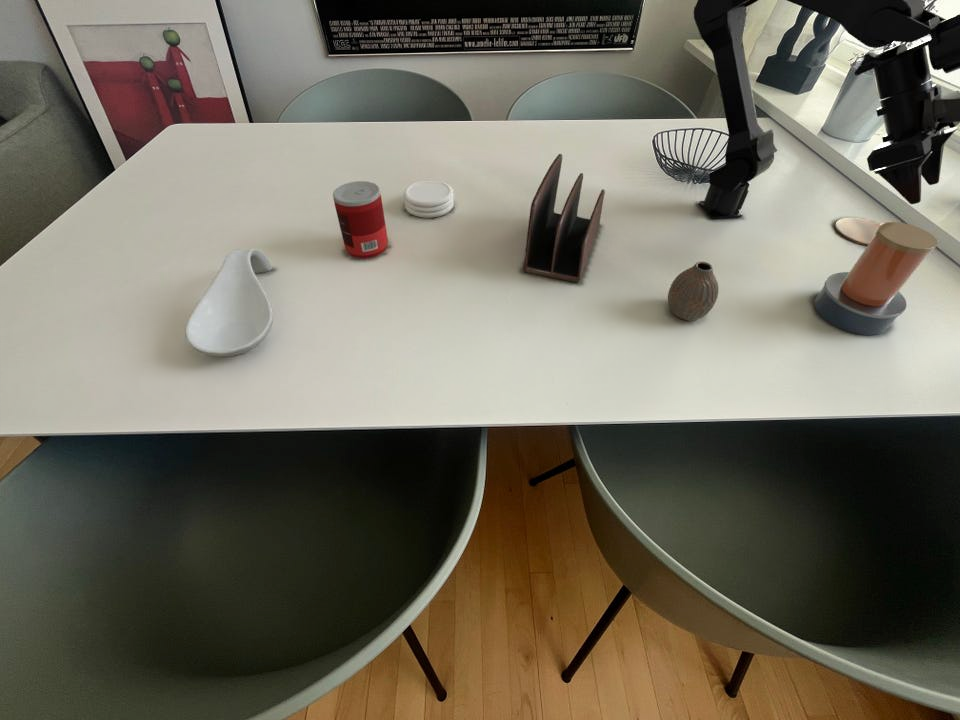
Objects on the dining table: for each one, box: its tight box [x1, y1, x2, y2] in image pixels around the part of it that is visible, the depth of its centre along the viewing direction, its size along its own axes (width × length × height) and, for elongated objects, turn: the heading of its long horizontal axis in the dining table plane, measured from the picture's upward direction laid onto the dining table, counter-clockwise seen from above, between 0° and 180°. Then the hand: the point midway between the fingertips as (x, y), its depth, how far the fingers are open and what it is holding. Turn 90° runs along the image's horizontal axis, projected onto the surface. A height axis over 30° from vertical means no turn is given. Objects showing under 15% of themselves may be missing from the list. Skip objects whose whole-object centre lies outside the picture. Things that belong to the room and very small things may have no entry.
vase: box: [667, 261, 720, 321], centre depth 73 cm, size 7×7×9 cm
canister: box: [841, 221, 938, 306], centre depth 69 cm, size 7×7×10 cm
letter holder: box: [522, 153, 606, 284], centre depth 83 cm, size 10×20×14 cm, turn 160°
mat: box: [834, 216, 882, 247], centre depth 92 cm, size 10×10×1 cm
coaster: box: [403, 179, 455, 219], centre depth 98 cm, size 10×10×4 cm
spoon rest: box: [184, 248, 274, 357], centre depth 73 cm, size 24×12×7 cm, turn 9°
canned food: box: [332, 180, 389, 260], centre depth 84 cm, size 8×8×11 cm
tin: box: [813, 271, 907, 336], centre depth 74 cm, size 11×11×4 cm
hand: (925, 193), depth 73 cm, fingers open, 9 cm apart
